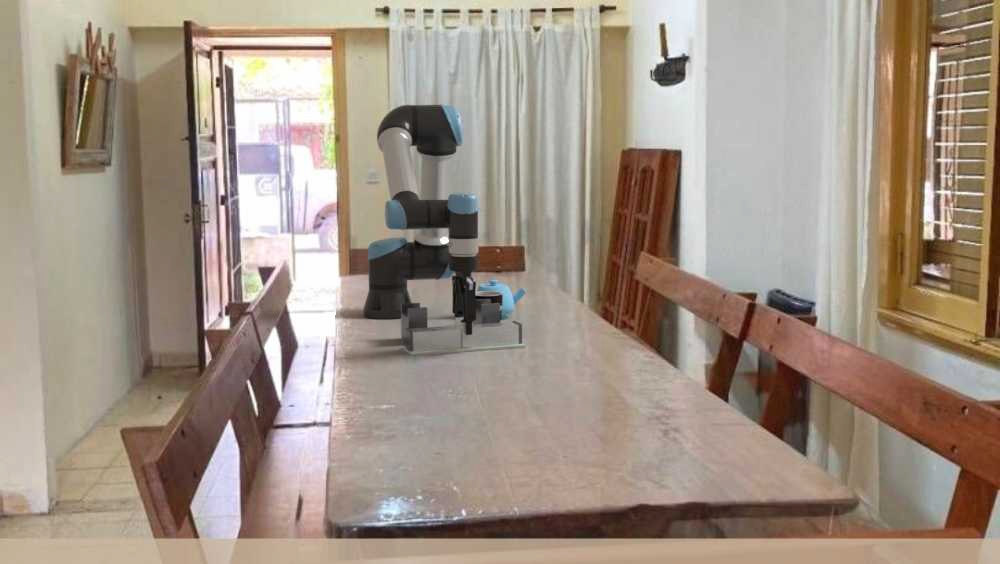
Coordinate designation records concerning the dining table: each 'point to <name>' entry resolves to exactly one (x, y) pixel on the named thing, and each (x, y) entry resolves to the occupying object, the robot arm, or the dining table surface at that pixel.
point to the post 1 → (412, 317)
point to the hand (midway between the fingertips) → (464, 344)
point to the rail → (453, 336)
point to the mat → (464, 349)
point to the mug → (491, 297)
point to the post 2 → (487, 312)
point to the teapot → (507, 296)
